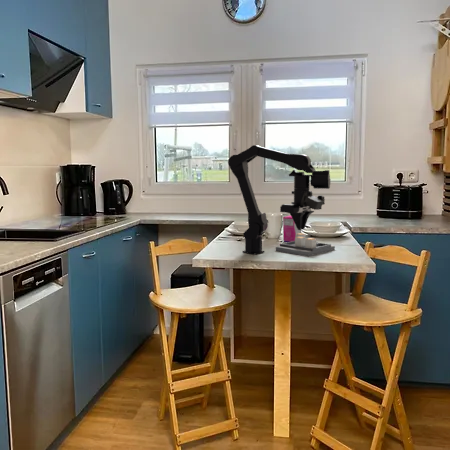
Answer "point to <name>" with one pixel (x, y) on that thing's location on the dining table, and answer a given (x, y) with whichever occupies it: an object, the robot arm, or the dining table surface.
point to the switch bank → (304, 248)
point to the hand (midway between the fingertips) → (301, 229)
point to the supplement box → (289, 229)
